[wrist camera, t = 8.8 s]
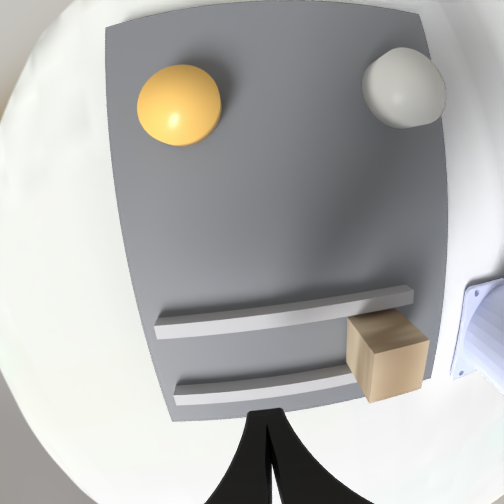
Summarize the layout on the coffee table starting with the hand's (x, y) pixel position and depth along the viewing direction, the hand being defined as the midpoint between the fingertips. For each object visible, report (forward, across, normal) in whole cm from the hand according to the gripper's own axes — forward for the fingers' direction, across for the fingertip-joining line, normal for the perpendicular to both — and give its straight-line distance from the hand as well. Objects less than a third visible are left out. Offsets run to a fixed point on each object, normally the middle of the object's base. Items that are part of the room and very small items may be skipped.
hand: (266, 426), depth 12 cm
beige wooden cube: (+6, -7, 0) cm, 9 cm away
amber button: (+6, +2, -13) cm, 14 cm away
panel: (+8, -3, -7) cm, 11 cm away
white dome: (+4, -8, -13) cm, 16 cm away
